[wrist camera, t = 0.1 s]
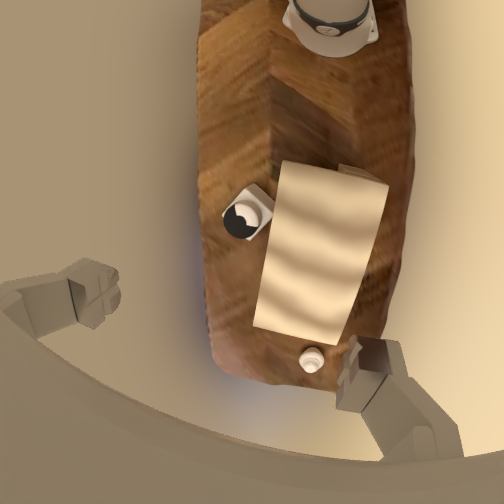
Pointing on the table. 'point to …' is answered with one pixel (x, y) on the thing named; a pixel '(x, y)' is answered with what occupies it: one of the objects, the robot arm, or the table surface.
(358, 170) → the cubby shelf
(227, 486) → the robot arm
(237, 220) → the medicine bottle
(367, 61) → the table surface
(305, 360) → the muffin
